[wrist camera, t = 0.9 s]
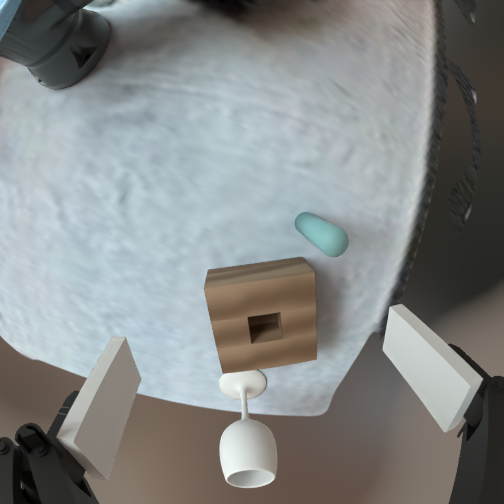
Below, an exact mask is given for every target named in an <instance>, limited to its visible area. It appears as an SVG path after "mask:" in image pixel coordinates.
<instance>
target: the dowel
mask: <svg viewBox="0 0 504 504" xmlns="http://www.w3.org/2000/svg"><path fill="white" fill-rule="evenodd" d="M295 227H296V229H297V230H298V231H299V232H300V233H301V234H302V235H303V236H305V237H306V238H307V239H308V240H309V241H310V242H312V243H313V244H314V245H315V246H316V247H317V248H318V249H320V250H321V251H322V252H323V253H324V254H325V255H327V256H329V257H338V256H340V255H341V254H343V253H344V252H345V250H346V249H347V246H348V236H347V234H346V233H345V231H343V230H342V229H340V228H338V227H336V226H335V225H333V224H331V223H329V222H327V221H325V220H323V219H321V218H319V217H317V216H315V215H313V214H311V213H308V212H303V213H301V214H299V215H298V216H297V218H296V220H295Z"/></svg>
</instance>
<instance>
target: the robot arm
mask: <svg viewBox="0 0 504 504" xmlns="http://www.w3.org/2000/svg"><path fill="white" fill-rule="evenodd" d="M93 1H95V0H0V56H1V57H3V58H6V59H9V60H11V61H14V62H16V63H19V64H21V65H24V66H26V67H27V68H28V69H29V71H30V72H31V74H32V75H33V76H34V77H35V79H36V80H37V81H38V82H39V83H40V84H41V85H43V86H45V87H48V88H51V89H62V88H66V87H68V86H71V85H73V84H75V83H76V82H78V81H79V80H81V79H82V78H83V77H85V76H86V75H87V74H88V73H89V72H90V71H91V70H92V69H93V68H94V67H95V66H96V64H97V63H98V62H99V60H100V59H101V57H102V56H103V54H104V52H105V50H106V48H107V46H108V43H109V39H110V27H109V24H108V22H107V21H106V20H105V19H104V18H103V17H102V16H101V15H100V14H99V13H97V12H94V11H89V10H86V9H83V7H85V6H86V5H88V4H90V3H91V2H93ZM383 351H384V353H385V354H386V355H387V356H388V357H389V359H390V360H391V361H392V363H393V364H394V365H395V367H396V368H397V369H398V370H399V372H400V373H401V374H402V376H403V377H404V378H405V380H406V381H407V382H408V384H409V385H410V386H411V388H412V389H413V390H414V392H415V393H416V394H417V396H418V397H419V398H420V399H421V401H422V402H423V404H424V405H425V406H426V408H427V409H428V410H429V412H430V413H431V414H432V416H433V417H434V419H435V420H436V422H437V423H438V424H439V426H440V427H441V428H442V430H443V431H444V433H446V432H447V431H449V430H451V429H453V428H454V427H456V426H458V424H459V423H460V421H461V419H462V417H464V418H465V419H466V422H465V424H464V425H463V427H462V428H461V430H460V431H459V433H458V435H457V437H459V436H460V435H461V433H462V432H463V437H462V445H461V451H460V457H459V463H458V468H457V473H456V478H455V482H454V486H453V490H452V494H451V497H450V501H449V504H504V377H502V376H494V377H490V376H489V375H488V374H487V373H486V372H485V371H484V370H483V369H482V368H481V367H480V366H479V365H478V364H477V363H475V362H474V361H473V360H472V359H471V358H470V357H469V356H468V355H466V353H465V352H464V351H463V350H461V349H460V348H459V347H457V346H455V345H453V344H448V345H447V344H446V343H445V342H444V341H443V340H442V339H441V338H440V337H438V336H437V335H436V334H435V333H434V332H433V331H432V330H431V329H430V328H429V327H427V326H426V325H425V324H424V323H423V322H422V321H420V319H418V318H417V317H416V316H415V315H414V314H413V313H412V312H410V311H409V310H408V309H407V308H406V307H405V306H403V305H402V304H399V305H395V306H390V309H389V315H388V322H387V328H386V334H385V339H384V344H383ZM140 381H141V377H140V374H139V372H138V369H137V367H136V364H135V361H134V359H133V356H132V353H131V351H130V348H129V345H128V342H127V339H126V337H112V338H111V340H110V341H109V343H108V345H107V346H106V348H105V350H104V351H103V353H102V354H101V356H100V358H99V359H98V361H97V363H96V364H95V366H94V368H93V370H92V371H91V373H90V375H89V376H88V378H87V380H86V382H85V383H84V386H83V387H82V389H81V391H74V392H73V393H72V394H70V395H69V396H68V397H67V398H66V400H65V402H64V404H63V405H62V408H61V409H60V411H59V414H57V416H56V418H55V420H54V421H53V423H52V425H51V427H50V429H49V431H48V433H47V435H46V434H45V433H44V432H43V430H41V428H40V427H39V426H38V425H37V424H34V423H28V424H24V425H23V426H21V427H20V428H19V429H18V430H17V432H16V434H15V440H16V442H17V443H18V444H19V445H20V446H16V445H15V444H14V443H13V442H12V440H11V439H9V438H7V437H2V438H0V504H99V502H98V501H97V499H96V497H95V495H94V493H93V492H92V490H91V488H90V486H89V484H88V482H87V480H86V479H85V477H84V473H85V470H86V471H87V472H88V473H89V474H90V475H91V476H92V477H94V478H97V479H101V480H106V481H109V478H110V474H111V470H112V467H113V464H114V460H115V457H116V454H117V450H118V447H119V443H120V440H121V437H122V434H123V431H124V428H125V425H126V422H127V419H128V416H129V413H130V410H131V407H132V404H133V401H134V398H135V395H136V392H137V390H138V387H139V384H140ZM21 483H22V488H21Z"/></svg>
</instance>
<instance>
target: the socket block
mask: <svg viewBox="0 0 504 504" xmlns="http://www.w3.org/2000/svg"><path fill="white" fill-rule="evenodd" d="M204 291H205V296H206V301H207V306H208V311H209V316H210V320H211V325H212V329H213V334H214V338H215V343H216V347H217V351H218V355H219V360H220V364H221V368H222V372H223V374H226V373H235V372H244V371H251V370H259V369H265V368H272V367H278V366H284V365H290V364H295V363H301V362H306V361H311V360H316V359H317V323H316V287H315V272H314V271H313V270H312V268H311V267H310V266H309V265H308V264H307V262H306V261H305V260H304V259H303V258H302V257H297V258H290V259H283V260H275V261H268V262H261V263H254V264H247V265H240V266H232V267H225V268H218V269H210V270H208V272H207V277H206V281H205V286H204Z"/></svg>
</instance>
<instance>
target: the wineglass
mask: <svg viewBox="0 0 504 504" xmlns="http://www.w3.org/2000/svg"><path fill="white" fill-rule="evenodd" d="M219 387H220V389H221V391H222V392H223V393H224V394H225V395H226V396H228V397H230V398H233V399H237V400H241V404H242V419H241V420H239V421H236V422H235V423H232V424H231V425H230V426H228V427H227V428H226V430H225V431H224V432H223V434H222V437H221V441H220V460H221V465H222V470H223V473H224V476H225V479H226V481H227V482H228V483H229V484H231V485H233V486H237V487H242V488H253V487H260V486H264V485H267V484H269V483H271V482H272V481H273V480H274V479H275V476H276V469H277V448H276V444H275V440H274V437H273V434H272V433H271V431H270V430H269V428H267V427H266V426H265V425H264V424H262V423H260V422H258V421H255V420H251V419H249V416H248V409H247V400H248V399H252V398H254V397H257V396H258V395H260V394H261V393H262V392H263V391H264V389H265V387H266V379H265V377H264V375H263V374H262V373H261V372H259V371H258V370H251V371H244V372H235V373H226V374H223V375H222V377H221V378H220V381H219Z"/></svg>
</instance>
